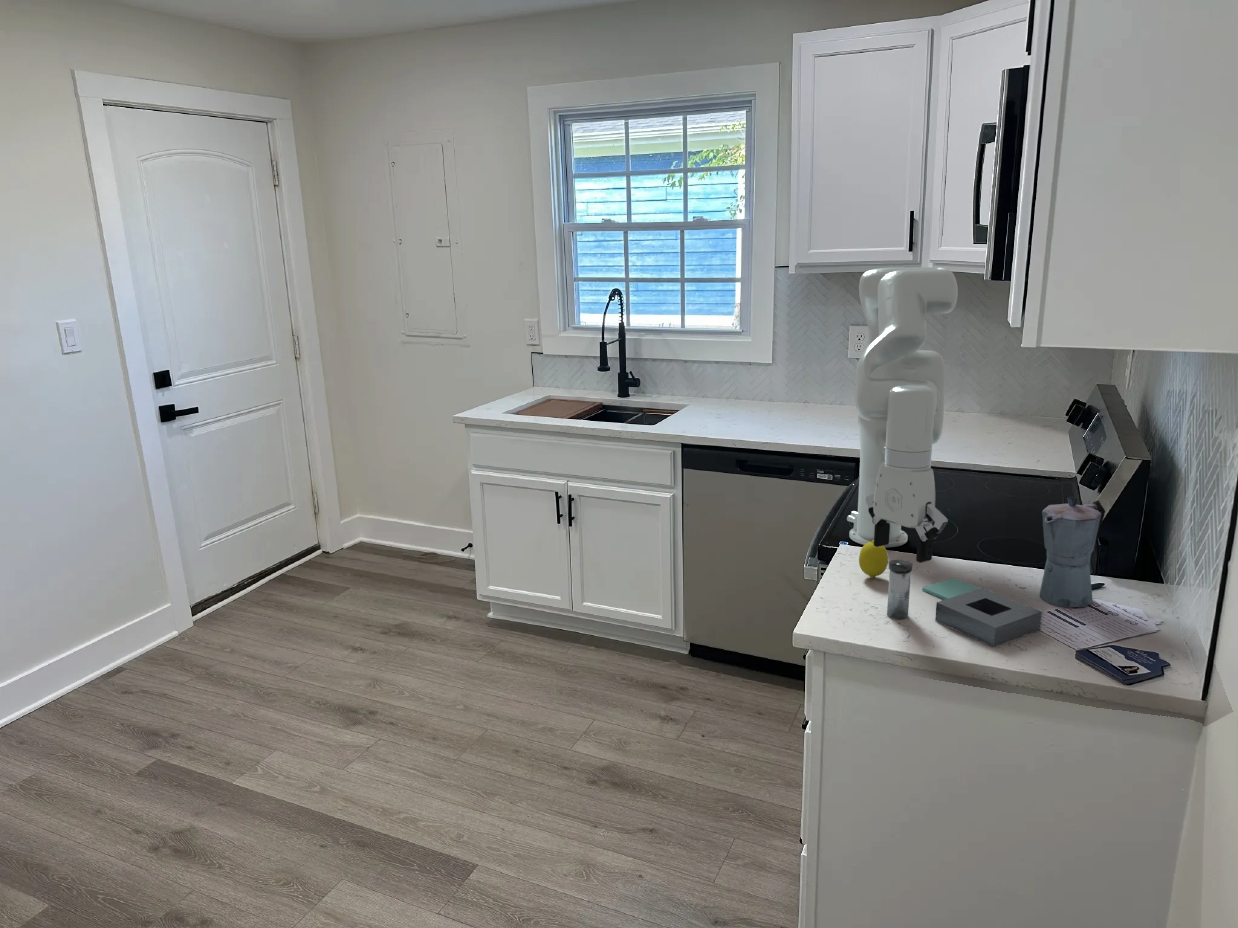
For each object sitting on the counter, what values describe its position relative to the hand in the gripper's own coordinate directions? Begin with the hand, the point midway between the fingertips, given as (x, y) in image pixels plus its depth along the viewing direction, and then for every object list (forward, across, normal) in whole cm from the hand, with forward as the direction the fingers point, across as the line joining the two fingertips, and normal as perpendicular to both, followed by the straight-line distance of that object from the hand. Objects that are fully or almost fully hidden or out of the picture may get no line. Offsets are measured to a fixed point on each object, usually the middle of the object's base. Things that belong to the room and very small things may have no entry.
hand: (901, 552), depth 148 cm
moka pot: (+12, +10, +33) cm, 36 cm away
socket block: (+12, +10, +11) cm, 19 cm away
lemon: (+12, -16, +10) cm, 22 cm away
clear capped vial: (+12, -1, +1) cm, 12 cm away
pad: (+12, -2, +18) cm, 21 cm away
